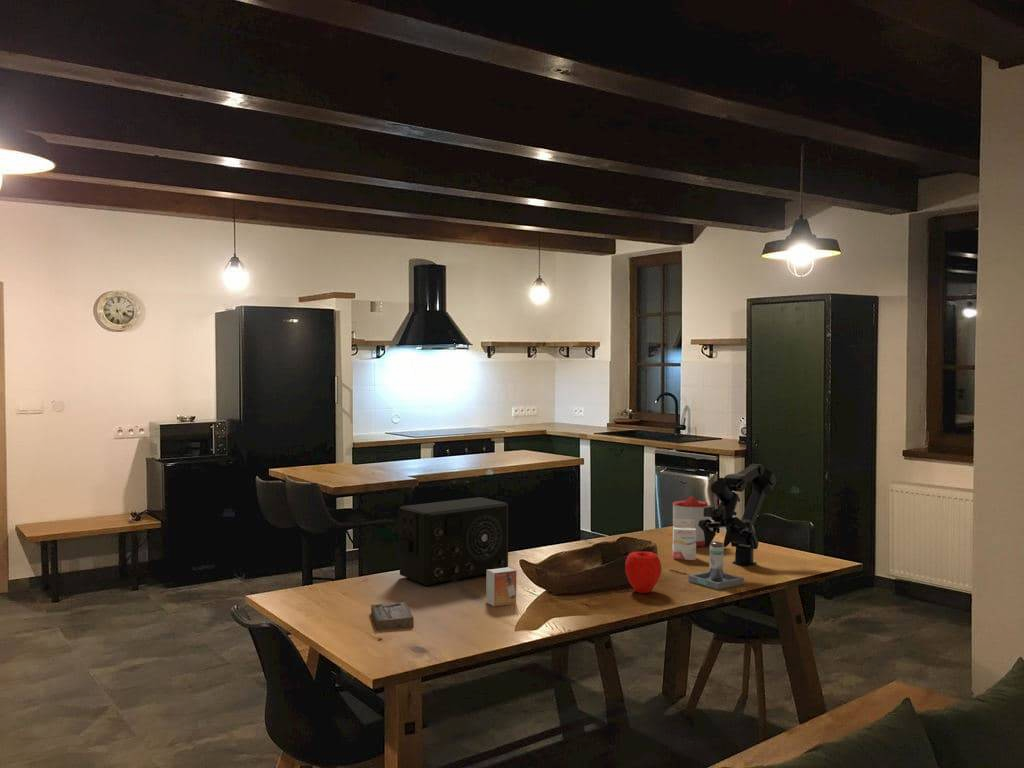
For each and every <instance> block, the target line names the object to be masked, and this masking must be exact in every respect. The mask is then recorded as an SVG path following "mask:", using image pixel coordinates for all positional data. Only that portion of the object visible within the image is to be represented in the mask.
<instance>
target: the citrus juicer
mask: <svg viewBox="0 0 1024 768" xmlns="http://www.w3.org/2000/svg"><path fill="white" fill-rule="evenodd" d="M705 507H712V504H708V502H707V501H702V500H697V499H696V497H695V496H693V495H691V496H689V497H688V498H687V499H686V500H676V501H673V502H672V528H673V527H674V519H689V520H695V526H694V527H695V529H696V547H704V546H705V538H704V532H703V530H702V529H701V528H700V527H699V526H698V524H699V521H700V520H702V519H709V520H710V521H711V517H704V516H703V513H704V508H705ZM681 524H688V522H681Z"/></svg>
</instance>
